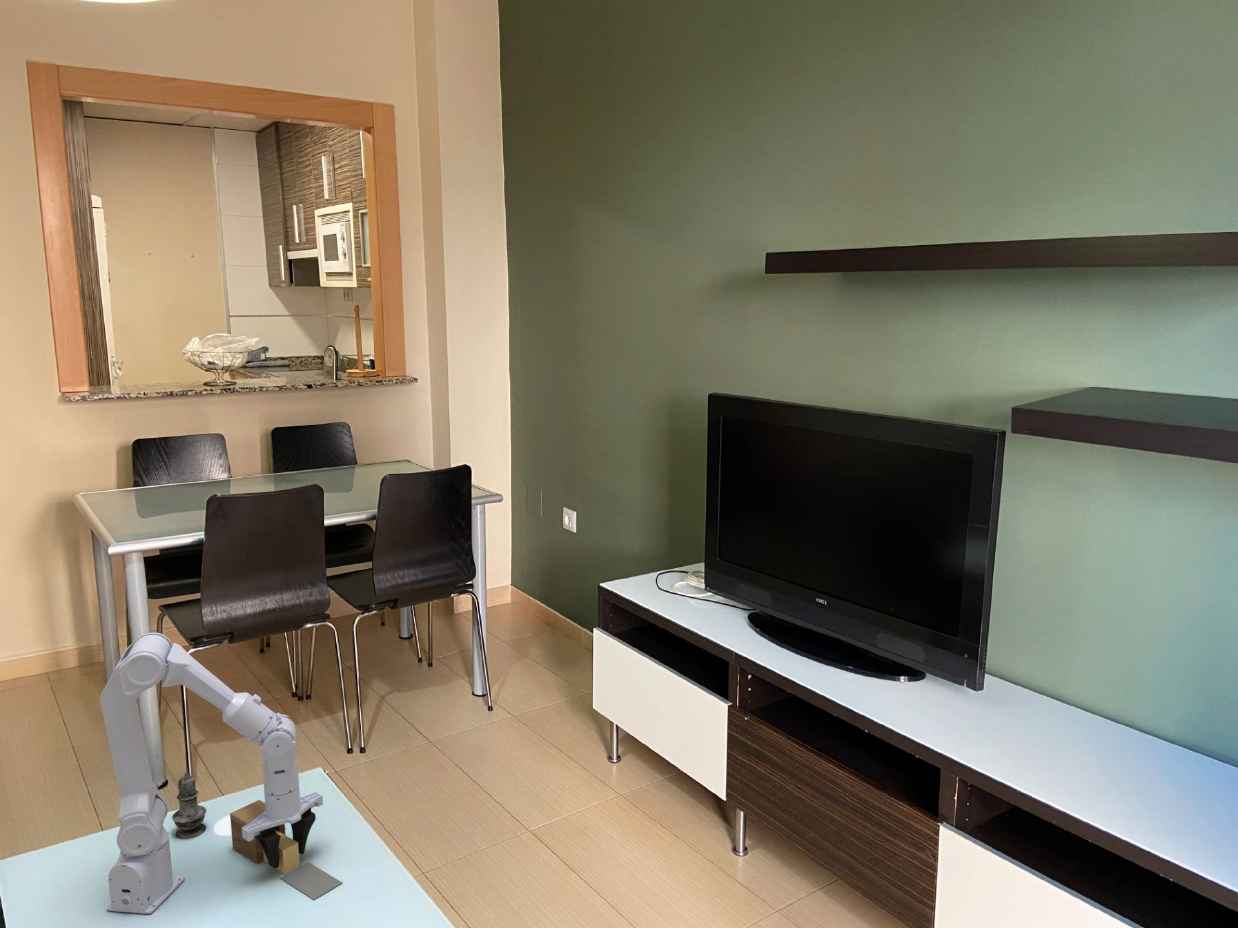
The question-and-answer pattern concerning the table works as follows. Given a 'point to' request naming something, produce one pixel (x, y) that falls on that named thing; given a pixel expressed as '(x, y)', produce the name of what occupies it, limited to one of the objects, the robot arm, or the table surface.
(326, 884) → the mat
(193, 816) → the grey stone finial
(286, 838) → the tan rectangular block
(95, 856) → the table surface
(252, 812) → the brown wooden open box
